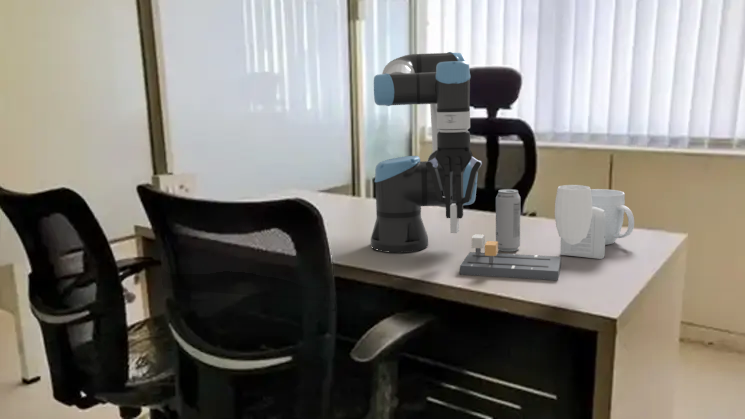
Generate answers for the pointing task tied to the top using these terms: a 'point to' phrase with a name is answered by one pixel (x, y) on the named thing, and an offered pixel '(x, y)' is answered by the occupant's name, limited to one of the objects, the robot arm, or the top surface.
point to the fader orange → (491, 250)
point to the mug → (613, 212)
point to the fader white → (478, 243)
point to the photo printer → (589, 239)
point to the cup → (573, 212)
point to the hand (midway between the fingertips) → (454, 231)
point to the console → (512, 266)
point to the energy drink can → (508, 220)
